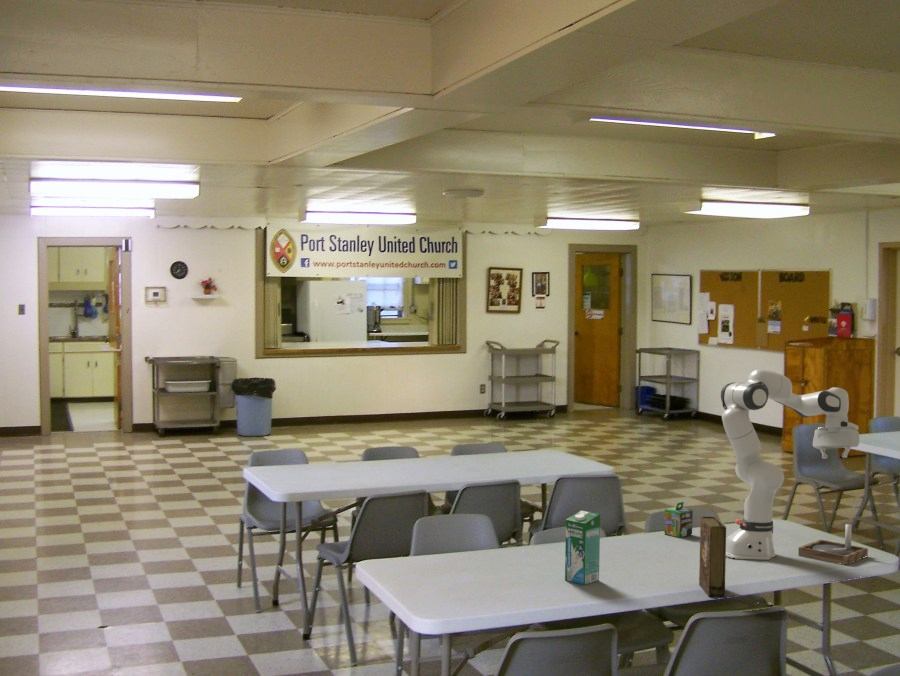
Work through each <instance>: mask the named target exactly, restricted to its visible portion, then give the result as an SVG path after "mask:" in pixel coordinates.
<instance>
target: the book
mask: <svg viewBox="0 0 900 676" xmlns="http://www.w3.org/2000/svg"><path fill="white" fill-rule="evenodd" d="M699 523H700V530H699V533H700V534H699V571H698V573H699V574H698V576H699V578H698V582H699V583H698V585H699V587H700V588H701V589H702V590H703V592H704V593H705V594H706V595H707V596H708V597H711V596H716V597H717V596H718V597H725V596H726V567H727V565H726V560H727V559H726V558H727V557H726V538H727V526H726V525H725V524H724V523H722V521H720V520H719V519H718V518H717V517H716V516H701V517H700V522H699Z"/></svg>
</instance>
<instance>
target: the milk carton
mask: <svg viewBox="0 0 900 676" xmlns="http://www.w3.org/2000/svg"><path fill="white" fill-rule="evenodd" d="M600 540H601V513H597V512H591V511H586V510H579V511H578V512H575V513H574V514H573V515H571V516H569V517H568V518H566V519H565V549H564V550H565V553H564V554H565V555H564V556H565V559H564V560H565V562H564V581H566V580H567V581H566V582H570V581H571V582H570V583H574V582H575V584H577V583H578V585H581V584H582V586H586V584H587V585H589V583H590V584H592V582H593V583H595V582H594V581H596V582H598V581H597V580H599V581H600V553H601V552H600V545H601V543H600V542H601V541H600Z"/></svg>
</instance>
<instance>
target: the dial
mask: <svg viewBox="0 0 900 676" xmlns="http://www.w3.org/2000/svg"><path fill="white" fill-rule="evenodd" d="M852 527H853V525H852V524H848V523H846V524H845V531H844V532H845V533H844V544H845V547H843V546H838V545H815V546H813V547H812V549H814V550H819V551H825V552H830V553H835V554H840V555H847V554H850V553H852V552H854V550H853V549H851V545H852V531H853V530H852Z"/></svg>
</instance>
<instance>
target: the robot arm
mask: <svg viewBox="0 0 900 676" xmlns="http://www.w3.org/2000/svg"><path fill="white" fill-rule="evenodd" d="M720 399H721V403H722V408H723V409H724V410H723V412H722V415H721V421H722V425H723V428H724V431H725V434H726V436H727V439H728V441H729V443H730V445H731V447H732V450H733V453H734V456H735V459H736V460H735V461H736V464H735V469H734V470H735V474H736V476H737V478H738V479H740V480H741V481H742V482H743V483H745V484H747V485H750V486H751V489H750V492H749V494H748V496H747V497H745V499H744V509H743V512H744V514H743V515H744V516H743V519H742V520H740V519H739V518H738V519H737V518H736V519H735V521H734V522H735V524H736V525H739V527H738V528H737V529H736V530H735V531H734V532H732V533H730V535H728V536H726V556H727V557H726V558H728V557H730V558H729V559H732V558H735V559H734V560H762V561H764V560H767V561H768V560H771V558H774V557H775V556H776V552H775V548H774V541H773V534H774V521H773V509H774V508H773V507H774V506H773V505H774V499H775V496H776V493H777V491H778V489H779V488H780V487H781V486H783V484H784V481H785V473H784V471H783V469H781V468H780V467H778V466H777V465H775V463H772V462H768V461H765V460H764V459H763V458H762V456H761V453H760V449H761V446H762V444H761V441H760V439H759V436H758V434H757V431H756V430H755V428H754V425H753V423H752V421H751V419H750V414H749V413H750V411H757V410H760V409H763V408H764V407H765V406H766V404H767V402H768V400H769V399H770V400H772V401H774V402H776V403H778V404H780V405H782V406H785V407H786V408H789V409H791V410H793V411H794V412H795V413H796V414H797V415H798V416H800V417H802V418H807V419H808V418H811V417H814V416H820V415H825V416H826V417H825V424H824V425H825V426H822V427H821V426H820V427H818V428H816V429H815V430H814V436H813V439H812V446H813V448H814V449H817V450H819V452H820V453H821V454H822V455H821V458H822V459H828V454H827V453H826V451H827V449H841V448H844V451H843V452H841V457H842V458H843V459H846V458H848V454H849V452H850V451H851V448H857V447H858V446H859V445H860V433H859V430H860V429H859V425H857V424H855V423H853V422H850V421H849V417H848V414H849V413H848V412H849V410H850V409H849V406H850V401H849V400H850V399H849V393H848V391H847V390H845V389H844V388H841V387H835V386H834V387H830V388H829V389H826V390H821V391H815V392H810V393H806V394H805V393H803V394H796V393H794V392H793V383H792V381H791V379H790V378H788V377H787V376H785V375H784V374H781V373H779V372H776V371H773V370H767V369H762V368H761V369H760V368H758V369H754V370H751V372H750V374H749V375H748V377H747V381H746V382H729V383H727V384H725V385H724V386H723V387H722V388H721V391H720Z"/></svg>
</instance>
